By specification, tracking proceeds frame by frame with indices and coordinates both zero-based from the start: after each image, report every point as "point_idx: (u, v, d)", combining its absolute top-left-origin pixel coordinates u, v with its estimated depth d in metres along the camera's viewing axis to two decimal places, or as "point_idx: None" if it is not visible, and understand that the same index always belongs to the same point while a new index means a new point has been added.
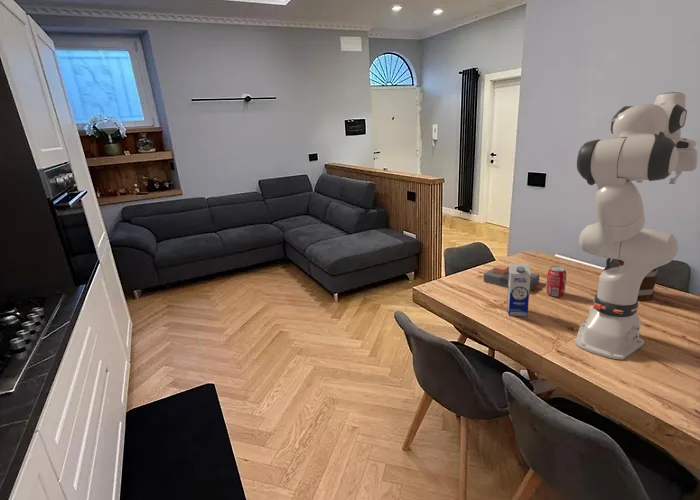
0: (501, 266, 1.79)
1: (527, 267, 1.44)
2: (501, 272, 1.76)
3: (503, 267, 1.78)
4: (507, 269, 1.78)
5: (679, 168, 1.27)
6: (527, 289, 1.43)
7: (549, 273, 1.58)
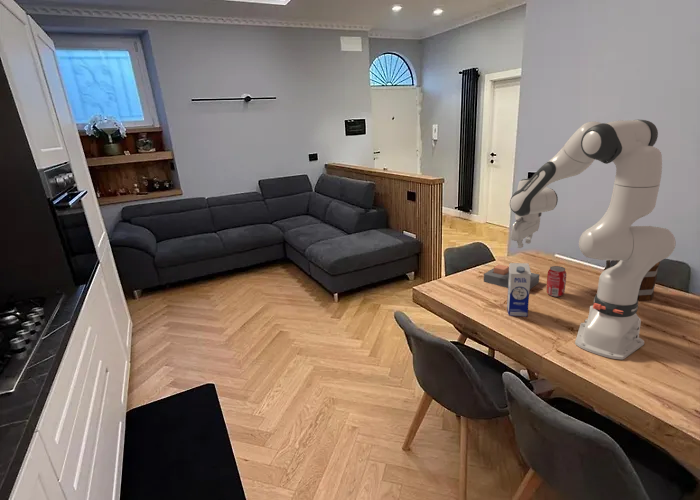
0: (501, 266, 1.79)
1: (527, 267, 1.44)
2: (501, 272, 1.76)
3: (503, 267, 1.78)
4: (507, 269, 1.78)
5: (535, 230, 1.68)
6: (527, 289, 1.43)
7: (549, 273, 1.58)
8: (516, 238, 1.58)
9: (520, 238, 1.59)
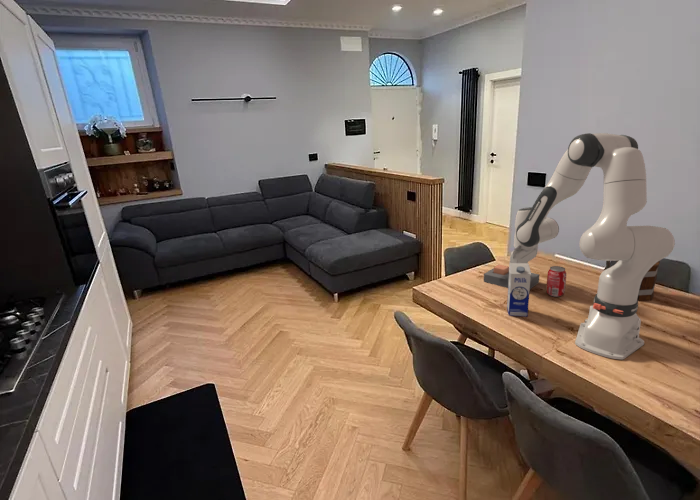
0: (501, 266, 1.79)
1: (527, 267, 1.44)
2: (501, 272, 1.76)
3: (503, 267, 1.78)
4: (507, 269, 1.78)
5: (533, 257, 1.72)
6: (527, 289, 1.43)
7: (549, 273, 1.58)
8: None
9: None
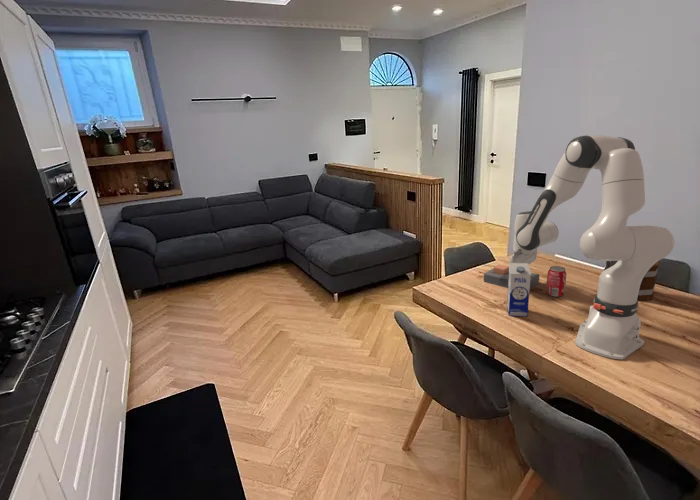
0: (501, 266, 1.79)
1: (527, 267, 1.44)
2: (501, 272, 1.76)
3: (503, 267, 1.78)
4: (507, 269, 1.78)
5: (532, 261, 1.72)
6: (527, 289, 1.43)
7: (549, 273, 1.58)
8: None
9: None
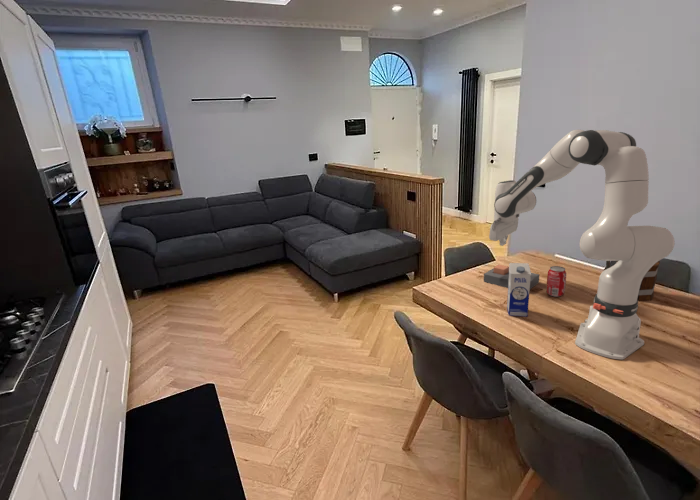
0: (501, 266, 1.79)
1: (527, 267, 1.44)
2: (501, 272, 1.76)
3: (503, 267, 1.78)
4: (507, 269, 1.78)
5: (513, 230, 1.76)
6: (527, 289, 1.43)
7: (549, 273, 1.58)
8: (494, 238, 1.66)
9: (498, 238, 1.67)
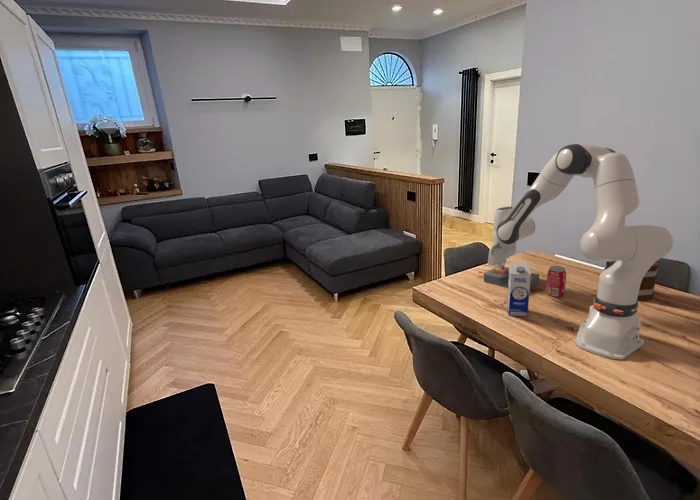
0: None
1: (527, 267, 1.44)
2: (501, 274, 1.77)
3: (503, 268, 1.78)
4: (507, 271, 1.78)
5: (511, 254, 1.79)
6: (527, 289, 1.43)
7: (549, 273, 1.58)
8: (492, 263, 1.70)
9: (496, 263, 1.70)
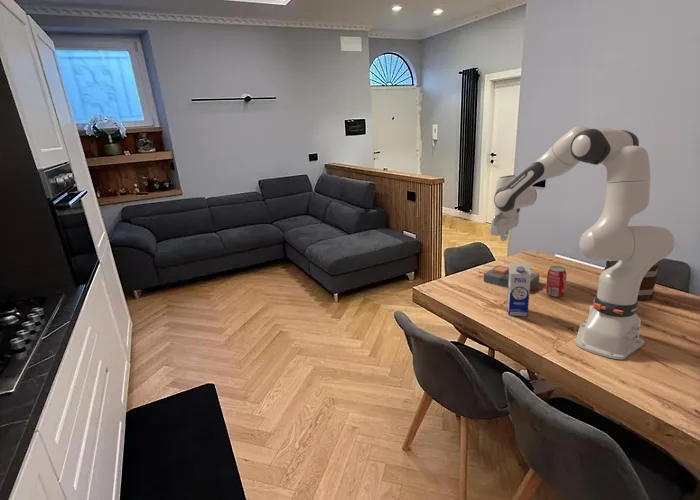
0: (501, 268, 1.79)
1: (527, 267, 1.44)
2: (501, 274, 1.77)
3: (503, 269, 1.78)
4: (507, 271, 1.78)
5: (514, 226, 1.75)
6: (527, 289, 1.43)
7: (549, 273, 1.58)
8: (495, 233, 1.66)
9: (499, 233, 1.66)
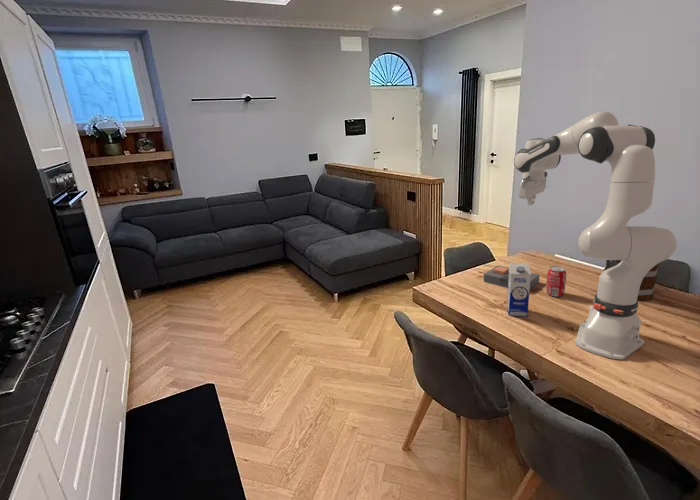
0: (501, 268, 1.79)
1: (527, 267, 1.44)
2: (501, 274, 1.77)
3: (503, 269, 1.78)
4: (507, 271, 1.78)
5: (541, 190, 1.77)
6: (527, 289, 1.43)
7: (549, 273, 1.58)
8: (523, 195, 1.67)
9: (527, 196, 1.68)
